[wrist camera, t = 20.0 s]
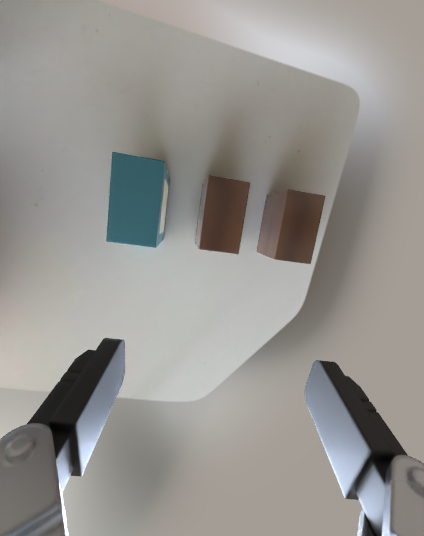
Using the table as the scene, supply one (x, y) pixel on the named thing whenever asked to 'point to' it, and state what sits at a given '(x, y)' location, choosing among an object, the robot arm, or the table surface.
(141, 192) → the teal block
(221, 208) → the walnut block
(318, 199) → the walnut block
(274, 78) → the table surface
